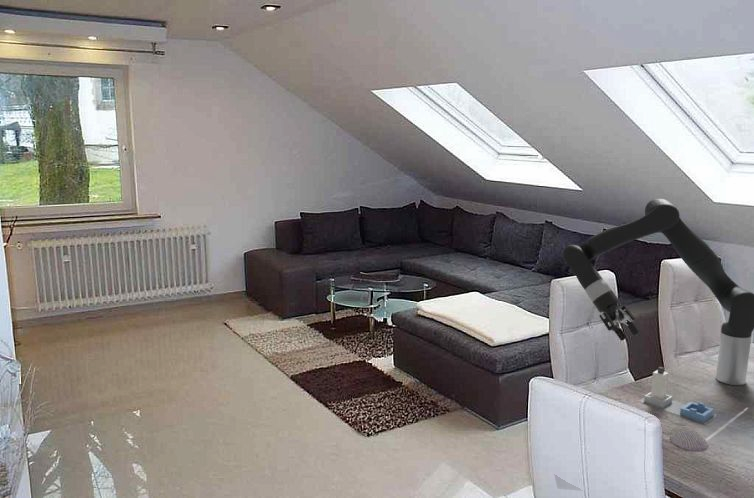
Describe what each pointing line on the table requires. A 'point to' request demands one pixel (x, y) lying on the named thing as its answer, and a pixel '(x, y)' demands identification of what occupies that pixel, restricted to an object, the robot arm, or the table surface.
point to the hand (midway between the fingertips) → (630, 336)
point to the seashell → (688, 439)
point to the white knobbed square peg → (659, 384)
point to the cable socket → (682, 408)
